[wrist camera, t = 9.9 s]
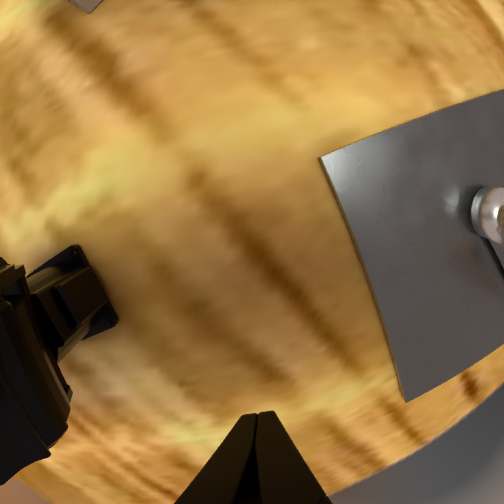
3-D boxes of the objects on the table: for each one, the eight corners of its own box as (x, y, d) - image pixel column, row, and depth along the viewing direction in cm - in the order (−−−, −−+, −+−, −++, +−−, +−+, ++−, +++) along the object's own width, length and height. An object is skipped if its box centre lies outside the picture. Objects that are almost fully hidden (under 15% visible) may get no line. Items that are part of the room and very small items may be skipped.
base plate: (401, 395, 22) (405, 402, 21) (317, 158, 18) (320, 157, 17) (547, 299, 20) (553, 303, 19) (507, 88, 16) (514, 85, 15)
